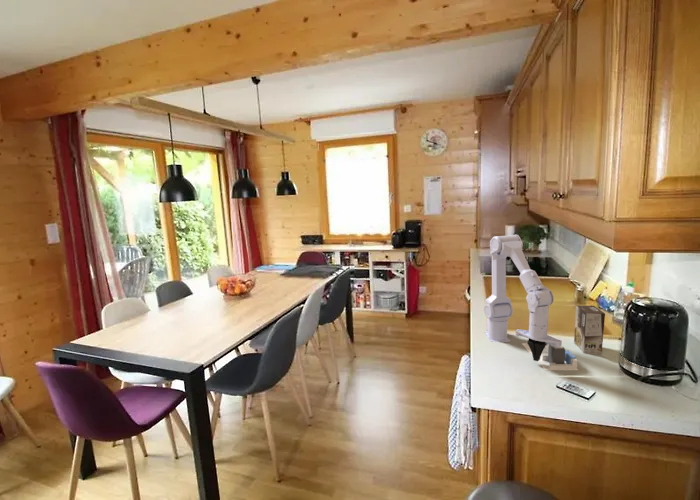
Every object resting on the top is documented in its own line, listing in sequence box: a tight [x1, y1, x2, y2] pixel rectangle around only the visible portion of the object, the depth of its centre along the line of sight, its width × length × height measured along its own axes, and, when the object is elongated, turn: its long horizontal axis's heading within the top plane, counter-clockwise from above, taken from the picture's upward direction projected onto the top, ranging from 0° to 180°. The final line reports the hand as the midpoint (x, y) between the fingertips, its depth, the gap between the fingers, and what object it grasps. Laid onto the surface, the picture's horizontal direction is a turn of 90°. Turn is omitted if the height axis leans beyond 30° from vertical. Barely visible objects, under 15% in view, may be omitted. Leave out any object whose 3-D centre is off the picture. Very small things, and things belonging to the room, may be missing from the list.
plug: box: [548, 344, 565, 364], centre depth 125 cm, size 4×4×7 cm
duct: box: [521, 334, 579, 371], centre depth 132 cm, size 21×11×4 cm, turn 175°
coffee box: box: [573, 305, 606, 355], centre depth 135 cm, size 9×6×16 cm
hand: (536, 359), depth 126 cm, fingers closed
